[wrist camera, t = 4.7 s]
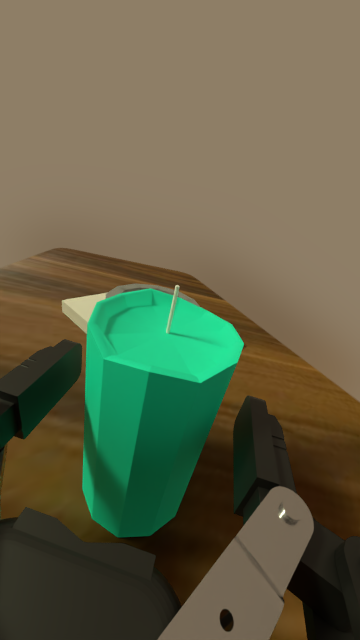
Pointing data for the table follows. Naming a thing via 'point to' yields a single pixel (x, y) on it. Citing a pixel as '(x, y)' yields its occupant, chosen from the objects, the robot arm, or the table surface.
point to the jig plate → (84, 306)
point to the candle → (149, 404)
